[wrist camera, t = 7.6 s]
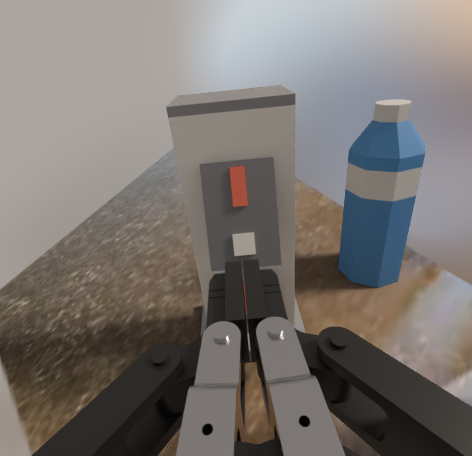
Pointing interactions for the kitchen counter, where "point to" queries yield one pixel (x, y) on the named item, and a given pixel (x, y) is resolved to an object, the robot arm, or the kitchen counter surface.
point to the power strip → (231, 149)
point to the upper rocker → (241, 212)
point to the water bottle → (380, 195)
